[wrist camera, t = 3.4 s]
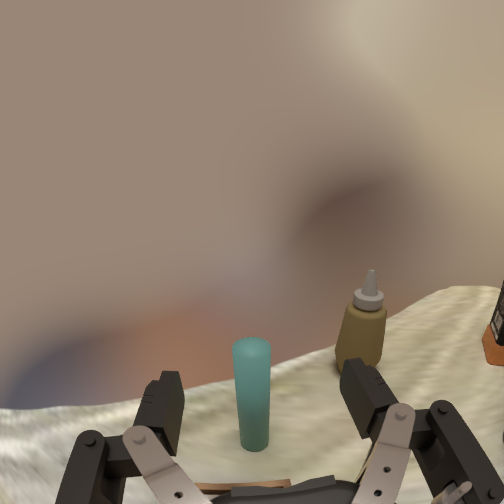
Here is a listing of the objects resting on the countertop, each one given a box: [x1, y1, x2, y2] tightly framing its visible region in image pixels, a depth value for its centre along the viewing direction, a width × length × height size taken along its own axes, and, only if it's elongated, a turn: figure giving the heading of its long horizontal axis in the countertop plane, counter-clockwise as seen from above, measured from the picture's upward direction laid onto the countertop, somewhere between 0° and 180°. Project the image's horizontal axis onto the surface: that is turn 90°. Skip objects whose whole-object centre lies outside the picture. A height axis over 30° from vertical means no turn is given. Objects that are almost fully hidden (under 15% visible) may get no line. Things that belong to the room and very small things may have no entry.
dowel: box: [232, 337, 271, 452], centre depth 26 cm, size 4×4×16 cm
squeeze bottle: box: [335, 269, 387, 374], centre depth 39 cm, size 8×8×18 cm
